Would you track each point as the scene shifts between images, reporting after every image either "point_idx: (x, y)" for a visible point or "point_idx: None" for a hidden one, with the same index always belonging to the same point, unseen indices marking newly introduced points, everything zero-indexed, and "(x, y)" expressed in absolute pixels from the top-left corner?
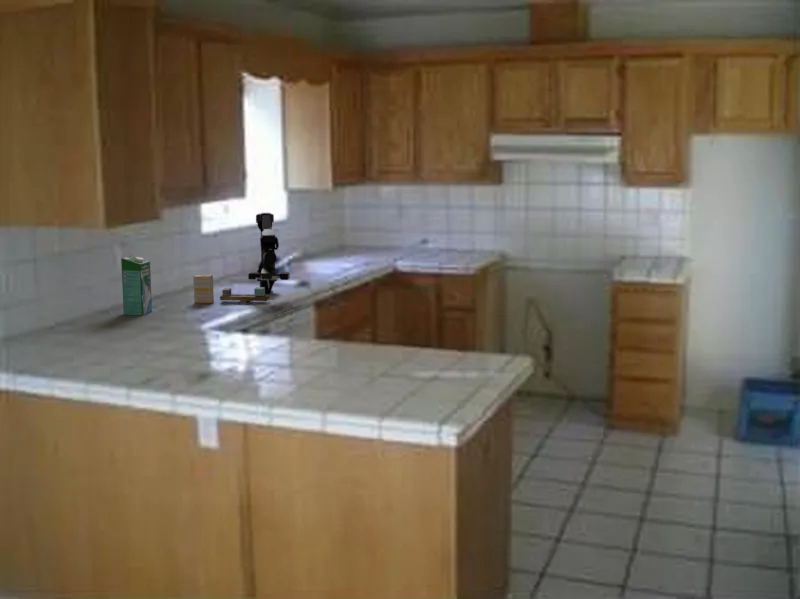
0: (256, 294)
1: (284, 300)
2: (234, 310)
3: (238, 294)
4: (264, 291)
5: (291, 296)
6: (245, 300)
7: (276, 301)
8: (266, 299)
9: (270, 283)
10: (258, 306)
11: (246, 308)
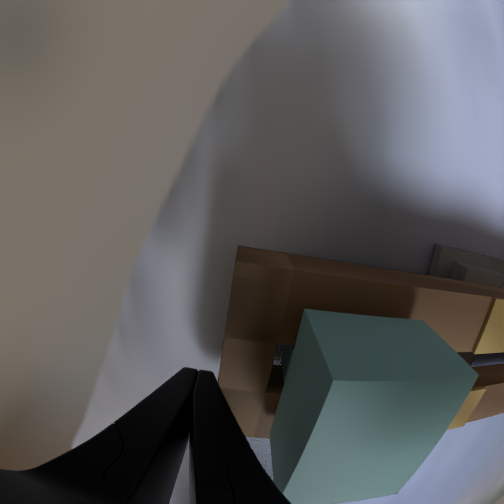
0: (406, 327)
1: (94, 401)
2: (494, 14)
3: (496, 405)
4: (278, 443)
5: None
6: (473, 283)
7: (150, 378)
8: (244, 251)
9: (102, 500)
10: (340, 112)
11: (440, 45)
